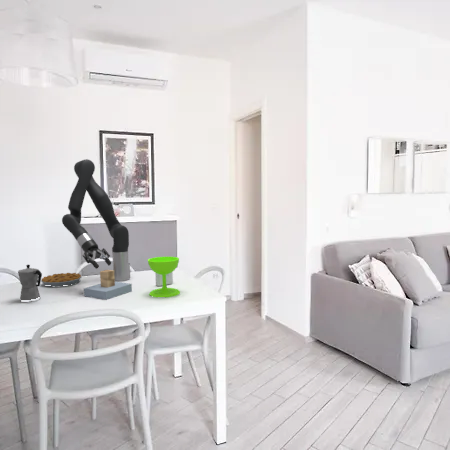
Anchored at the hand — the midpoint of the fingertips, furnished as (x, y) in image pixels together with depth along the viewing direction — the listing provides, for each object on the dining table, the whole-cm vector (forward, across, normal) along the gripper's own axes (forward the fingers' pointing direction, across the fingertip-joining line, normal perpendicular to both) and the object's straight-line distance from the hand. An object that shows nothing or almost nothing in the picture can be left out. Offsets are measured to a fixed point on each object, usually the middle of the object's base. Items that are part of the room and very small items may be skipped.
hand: (104, 266), depth 206 cm
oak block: (+9, 0, +6) cm, 11 cm away
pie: (-18, +5, +39) cm, 44 cm away
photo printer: (+23, +28, -2) cm, 36 cm away
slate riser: (+12, 0, +9) cm, 15 cm away
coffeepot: (-7, -26, +27) cm, 38 cm away
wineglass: (+31, +13, -10) cm, 35 cm away
